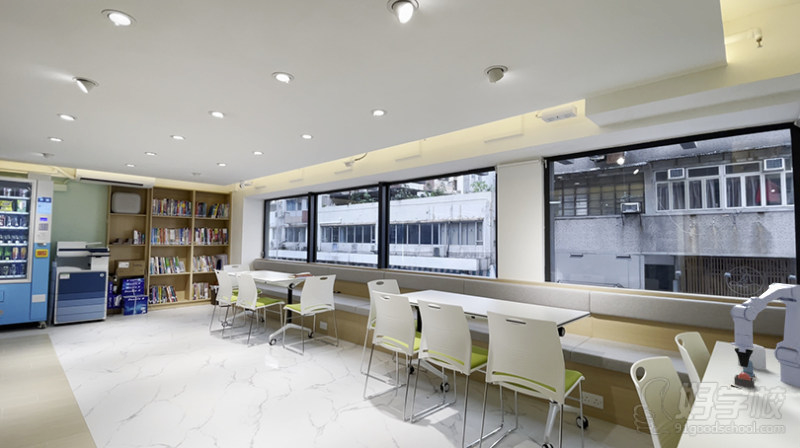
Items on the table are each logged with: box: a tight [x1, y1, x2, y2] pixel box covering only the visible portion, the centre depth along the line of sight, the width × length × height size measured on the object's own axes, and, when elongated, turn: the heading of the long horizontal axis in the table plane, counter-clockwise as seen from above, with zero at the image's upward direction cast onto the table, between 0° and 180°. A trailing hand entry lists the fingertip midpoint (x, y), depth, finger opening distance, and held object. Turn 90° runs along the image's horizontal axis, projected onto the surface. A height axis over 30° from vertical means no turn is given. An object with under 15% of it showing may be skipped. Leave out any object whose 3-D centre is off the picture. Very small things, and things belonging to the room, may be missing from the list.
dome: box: [738, 372, 752, 381], centre depth 158 cm, size 4×4×4 cm
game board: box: [730, 374, 758, 390], centre depth 165 cm, size 26×8×4 cm, turn 133°
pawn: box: [740, 360, 756, 378], centre depth 171 cm, size 5×5×7 cm
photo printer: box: [737, 343, 767, 371], centre depth 185 cm, size 10×4×12 cm, turn 39°
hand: (744, 366), depth 159 cm, fingers closed
